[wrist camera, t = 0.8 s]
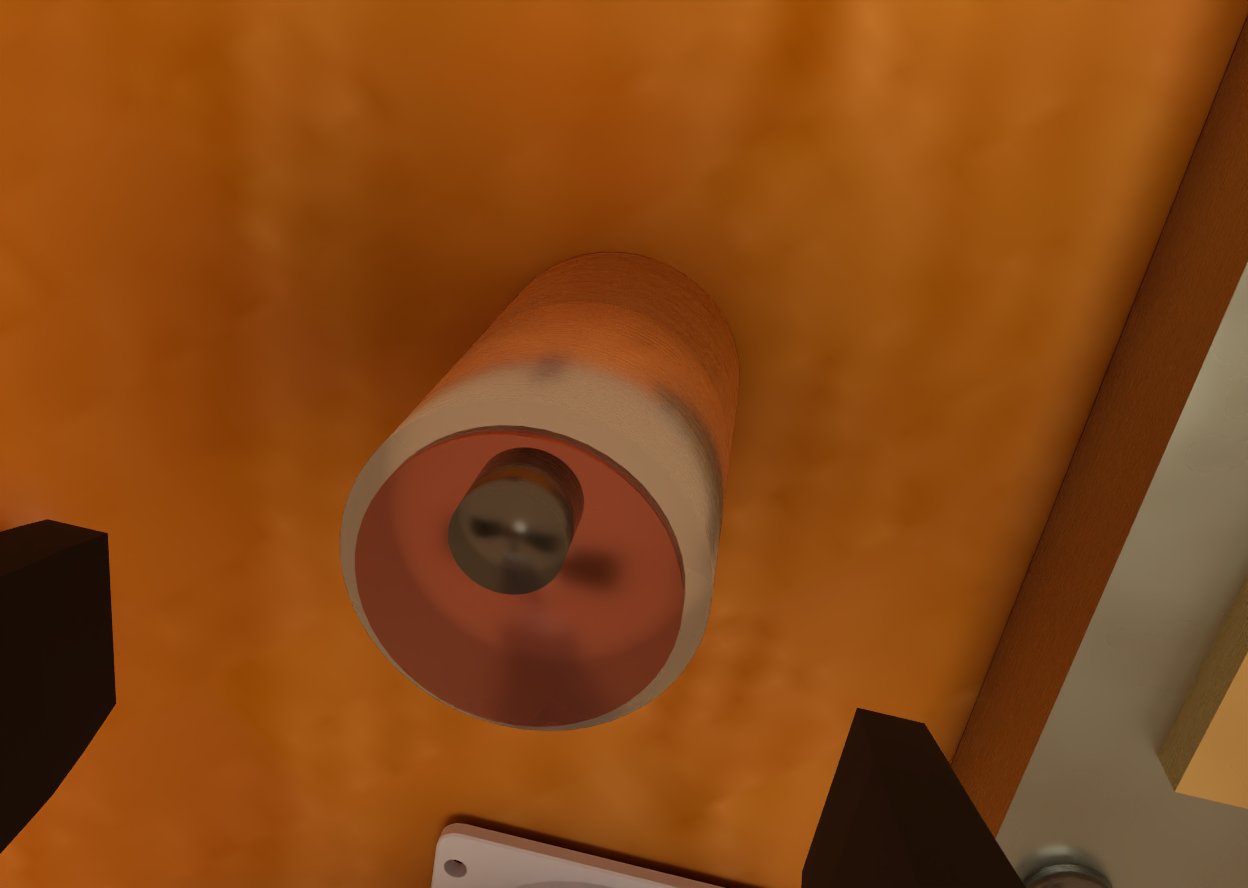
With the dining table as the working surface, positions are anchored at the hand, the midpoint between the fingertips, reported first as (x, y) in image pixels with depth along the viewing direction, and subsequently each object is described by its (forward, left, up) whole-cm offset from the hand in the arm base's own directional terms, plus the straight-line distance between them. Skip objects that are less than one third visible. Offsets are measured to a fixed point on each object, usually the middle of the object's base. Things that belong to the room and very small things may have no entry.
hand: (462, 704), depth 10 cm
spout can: (0, 0, -9) cm, 9 cm away
